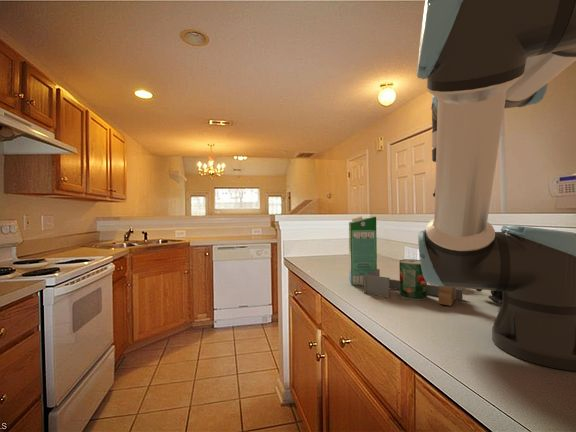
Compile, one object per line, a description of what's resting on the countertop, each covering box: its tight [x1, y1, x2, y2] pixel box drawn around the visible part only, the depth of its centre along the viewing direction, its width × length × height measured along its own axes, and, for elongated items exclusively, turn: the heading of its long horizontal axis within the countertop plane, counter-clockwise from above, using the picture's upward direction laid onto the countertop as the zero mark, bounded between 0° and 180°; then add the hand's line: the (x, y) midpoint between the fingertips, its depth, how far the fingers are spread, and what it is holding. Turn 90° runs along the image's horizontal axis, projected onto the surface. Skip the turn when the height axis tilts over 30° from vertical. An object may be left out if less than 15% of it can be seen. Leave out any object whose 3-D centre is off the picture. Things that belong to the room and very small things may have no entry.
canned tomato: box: [399, 258, 428, 301], centre depth 87 cm, size 8×8×11 cm
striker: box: [438, 286, 457, 306], centre depth 81 cm, size 9×3×18 cm, turn 141°
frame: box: [363, 268, 464, 301], centre depth 87 cm, size 12×26×6 cm, turn 51°
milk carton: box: [348, 215, 378, 286], centre depth 105 cm, size 9×9×25 cm
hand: (447, 220), depth 81 cm, fingers open, 13 cm apart
